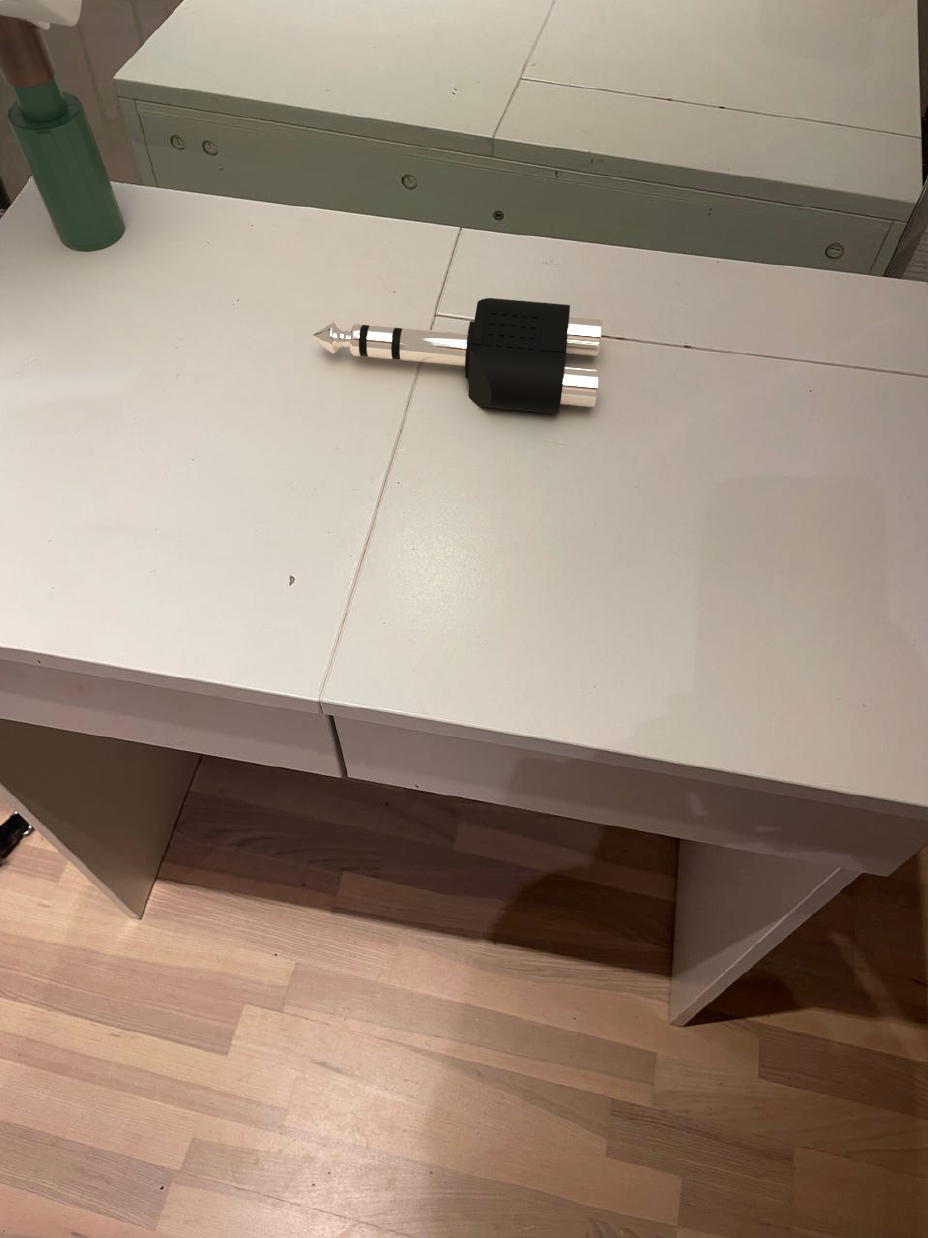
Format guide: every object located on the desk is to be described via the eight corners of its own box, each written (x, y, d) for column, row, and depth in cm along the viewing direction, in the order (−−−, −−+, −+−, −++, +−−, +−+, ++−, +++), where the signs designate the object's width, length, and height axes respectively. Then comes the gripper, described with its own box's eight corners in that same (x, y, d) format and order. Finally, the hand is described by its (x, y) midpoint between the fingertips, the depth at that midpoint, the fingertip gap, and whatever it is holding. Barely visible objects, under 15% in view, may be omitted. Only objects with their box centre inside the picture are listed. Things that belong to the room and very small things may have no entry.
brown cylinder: (38, 91, 74) (-5, -18, 67) (-7, 81, 74) (-54, -27, 67) (66, 65, 76) (28, -42, 69) (22, 56, 76) (-20, -51, 70)
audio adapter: (600, 382, 70) (294, 354, 71) (591, 430, 74) (303, 402, 76) (605, 293, 75) (321, 269, 77) (596, 342, 80) (329, 318, 81)
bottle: (58, 254, 86) (-11, 97, 73) (61, 215, 89) (-6, 58, 76) (124, 247, 87) (67, 90, 74) (124, 208, 90) (70, 51, 77)
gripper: (12, -117, 56) (130, -13, 69) (-259, -155, 59) (-95, -48, 72) (5, -6, 58) (122, 75, 71) (-259, -48, 60) (-98, 37, 74)
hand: (11, 13), depth 72 cm, fingers closed on brown cylinder, 4 cm apart
